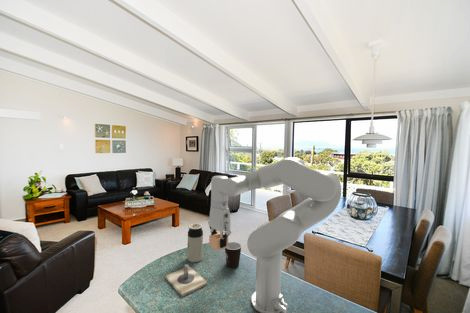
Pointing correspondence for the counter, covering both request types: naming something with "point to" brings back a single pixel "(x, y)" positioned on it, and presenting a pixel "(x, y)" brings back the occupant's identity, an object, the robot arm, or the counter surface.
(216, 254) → the counter surface
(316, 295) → the counter surface
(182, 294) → the post stand
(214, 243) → the ring
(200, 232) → the travel mug
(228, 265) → the coffee mug
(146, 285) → the counter surface
